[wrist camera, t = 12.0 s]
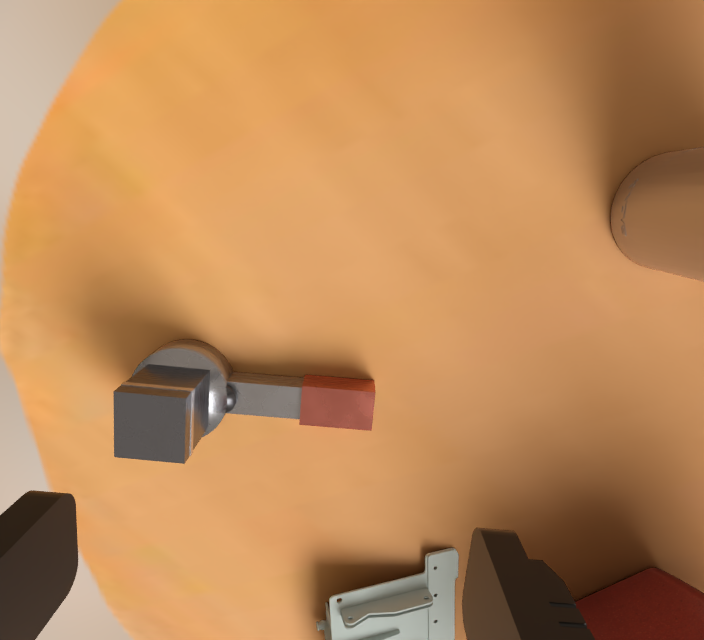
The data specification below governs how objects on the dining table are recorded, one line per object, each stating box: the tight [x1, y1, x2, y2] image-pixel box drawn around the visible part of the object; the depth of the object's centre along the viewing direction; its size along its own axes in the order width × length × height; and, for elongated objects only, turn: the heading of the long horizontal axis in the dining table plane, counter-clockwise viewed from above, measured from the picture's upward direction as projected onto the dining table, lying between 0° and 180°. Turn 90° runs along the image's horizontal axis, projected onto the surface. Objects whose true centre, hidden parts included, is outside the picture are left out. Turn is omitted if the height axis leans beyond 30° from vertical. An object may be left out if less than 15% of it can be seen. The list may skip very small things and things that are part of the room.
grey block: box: [114, 364, 210, 464], centre depth 39 cm, size 5×5×6 cm
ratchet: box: [132, 339, 375, 437], centre depth 42 cm, size 20×8×6 cm, turn 85°
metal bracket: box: [316, 548, 459, 640], centre depth 49 cm, size 14×6×15 cm
